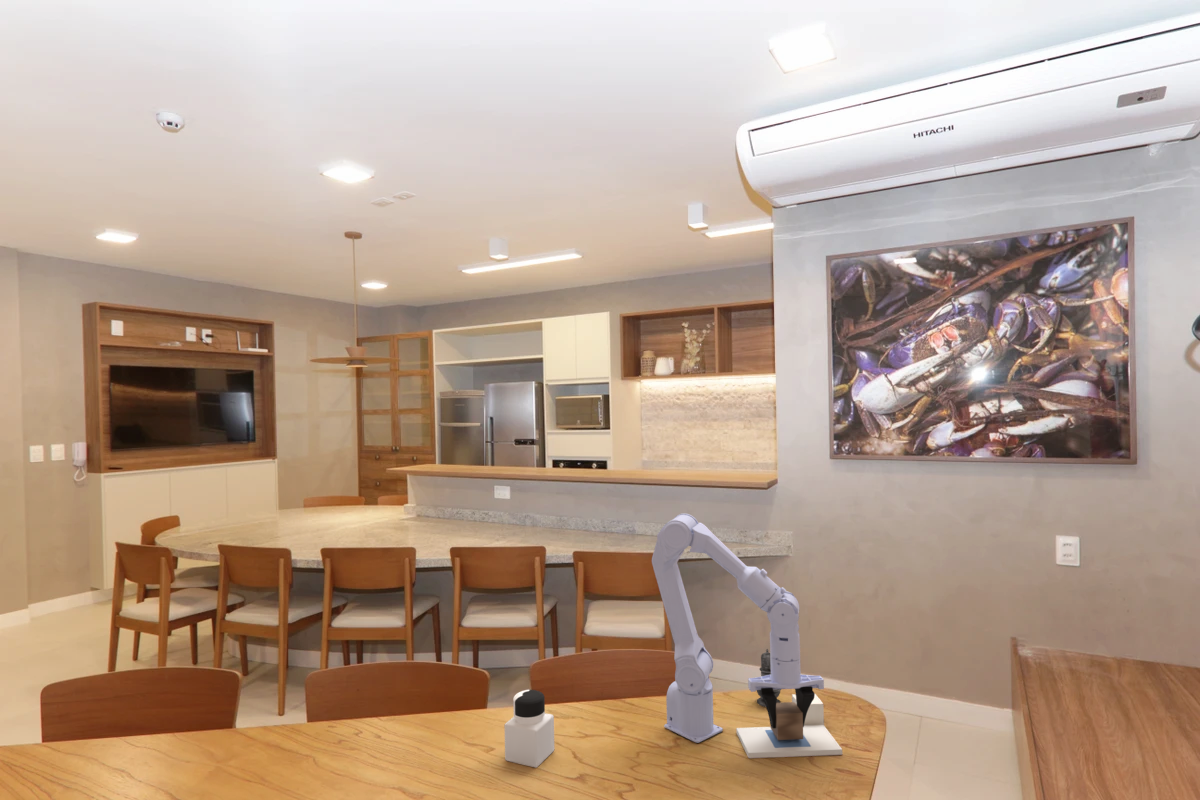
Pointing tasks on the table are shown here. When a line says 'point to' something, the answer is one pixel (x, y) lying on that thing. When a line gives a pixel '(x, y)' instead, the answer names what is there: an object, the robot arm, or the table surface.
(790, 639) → the robot arm
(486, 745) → the table surface
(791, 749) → the board
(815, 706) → the cream block
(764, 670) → the grey tall round piece
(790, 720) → the walnut block
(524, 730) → the medicine bottle
